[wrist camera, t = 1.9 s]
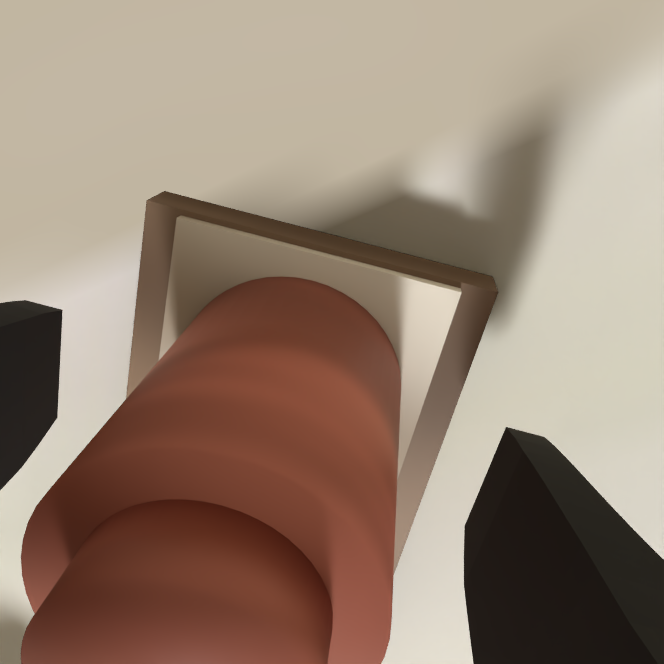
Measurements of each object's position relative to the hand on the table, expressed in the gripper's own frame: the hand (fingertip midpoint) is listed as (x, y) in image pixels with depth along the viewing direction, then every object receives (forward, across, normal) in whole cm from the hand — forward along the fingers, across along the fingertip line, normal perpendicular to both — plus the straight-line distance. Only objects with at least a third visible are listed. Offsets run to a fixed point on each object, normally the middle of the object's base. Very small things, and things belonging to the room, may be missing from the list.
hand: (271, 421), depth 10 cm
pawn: (+1, 0, 0) cm, 1 cm away
